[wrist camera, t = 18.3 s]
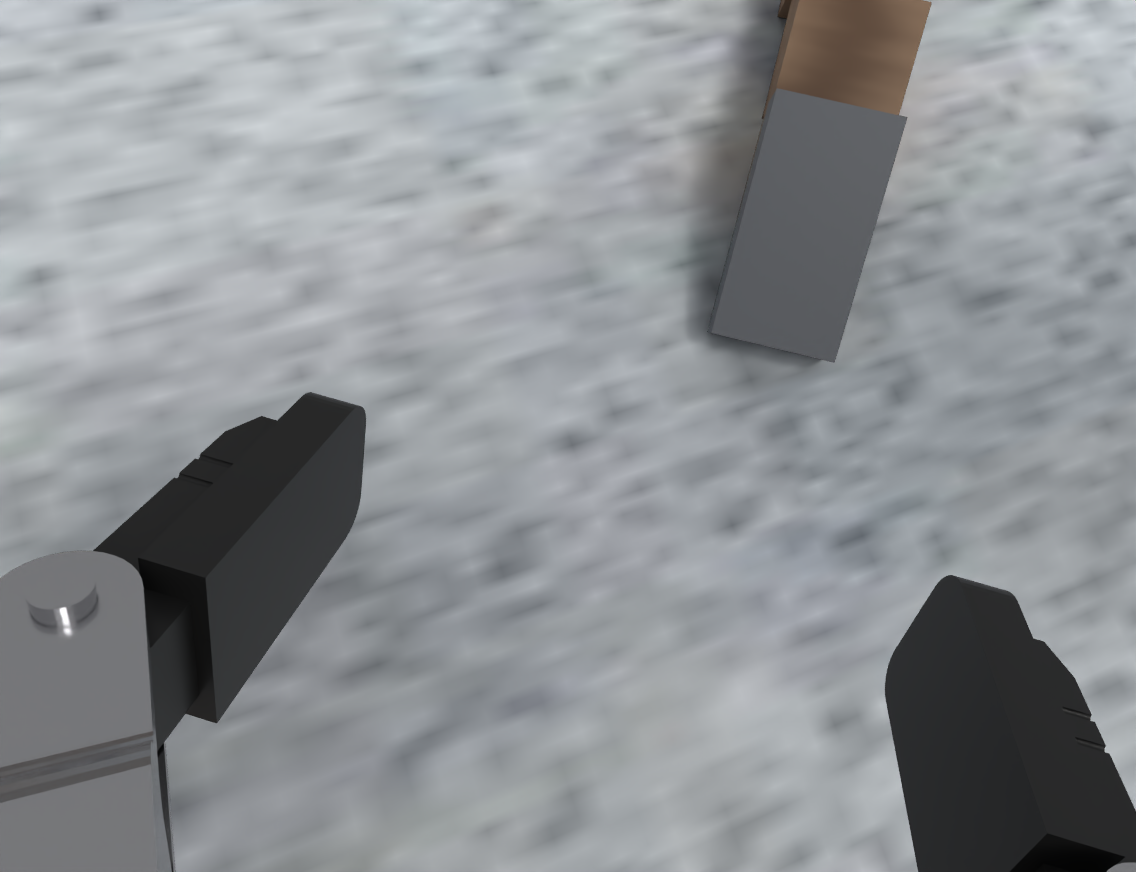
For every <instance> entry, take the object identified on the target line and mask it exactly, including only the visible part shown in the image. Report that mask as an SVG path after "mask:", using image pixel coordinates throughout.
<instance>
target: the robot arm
mask: <svg viewBox="0 0 1136 872" xmlns="http://www.w3.org/2000/svg"><path fill="white" fill-rule="evenodd" d="M365 428H366V414H365V410H364V408H363V407H361V406H358V405H354V404H350V403H347V402H343V401H340V400H336V399H333V398H329V397H326V396H322V395H319V394H315V393H312V392H309V393H306V394H305V395H303V396H302V397H301V398H300V399H299V400H298V401H297V402H296V403H295V404H294V405H293V406H292V407H291V408H290V409H289V410H288V411H287V412H286V413H285V414H284V415H283V416H282V417H281V418H280V419H279V420H278V421H277V420H273V419H270V418H266V417H263V416H261V417H258V418H256V419H254V420H251V421H249V422H247V423H244V424H242V425H240V426H237V427H235V428H232V429H230V430H228V431H225V432H224V433H223V434H222V435H221V436H220V437H219V438H218V439H217V440H215V441H214V442H213V443H212V444H211V445H210V446H209V447H208V448H207V449H205V450H204V451H203V452H202V453H201V454H200V458H199V459H194V460H193V461H192V462H191V463H190V464H189V465H188V466H187V467H185V468H184V469H183V470H182V471H181V472H180V473H179V477H178V478H173V479H172V480H171V481H170V482H169V483H168V484H167V485H166V486H164V487H163V488H162V489H161V490H160V491H159V492H158V493H157V494H156V495H154V496H153V497H152V498H151V499H150V500H149V501H148V502H147V503H146V504H144V505H143V506H142V507H141V508H140V509H139V510H138V511H137V512H136V513H134V514H133V515H132V516H131V517H130V518H129V519H128V520H127V521H126V522H124V523H123V524H122V525H121V526H120V527H119V528H118V529H117V530H116V531H115V532H113V533H112V534H111V535H110V536H109V537H108V538H107V539H106V540H105V541H103V542H102V543H101V544H100V545H99V546H98V547H97V548H96V549H94V550H93V551H70V552H62V553H57V554H51V555H48V556H44V557H41V558H38V559H35V560H33V561H30V562H28V563H25V564H23V565H21V566H19V567H17V568H15V569H13V570H12V571H10V572H9V573H7V574H6V575H4V576H3V577H1V578H0V872H176V870H175V857H174V844H173V831H172V818H171V805H170V793H169V780H168V767H167V754H166V744H165V740H166V739H167V738H168V736H169V735H170V734H171V732H172V731H173V730H174V728H175V727H176V726H177V724H178V723H179V721H180V720H181V719H182V717H183V716H184V715H185V714H189V715H192V716H195V717H198V718H201V719H205V720H208V721H211V722H214V723H218V721H219V720H220V718H221V717H222V715H223V714H224V712H225V711H226V710H227V708H228V707H229V705H230V704H231V702H232V701H233V700H234V698H235V697H236V695H237V694H238V692H239V691H240V689H241V688H242V687H243V685H244V684H245V682H246V681H247V679H248V678H249V677H250V675H251V674H252V672H253V671H254V669H255V668H256V666H257V665H258V664H259V662H260V661H261V659H262V658H263V656H264V655H265V654H266V652H267V651H268V649H269V648H270V646H271V645H272V643H273V642H274V641H275V639H276V638H277V636H278V635H279V633H280V632H281V630H282V629H283V628H284V626H285V625H286V623H287V622H288V620H289V619H290V618H291V616H292V615H293V613H294V612H295V610H296V609H297V607H298V606H299V605H300V603H301V602H302V600H303V599H304V597H305V596H306V595H307V593H308V592H309V590H310V589H311V587H312V586H313V584H314V583H315V582H316V580H317V579H318V577H319V576H320V574H321V573H322V572H323V570H324V569H325V567H326V566H327V564H328V563H329V561H330V560H331V559H332V557H333V556H334V554H335V553H336V551H337V550H338V549H339V547H340V546H341V544H342V543H343V541H344V540H345V538H346V537H347V535H348V533H349V531H350V529H351V527H352V525H353V523H354V520H355V517H356V514H357V511H358V508H359V503H360V498H361V487H362V472H363V458H364V443H365ZM885 697H886V703H887V708H888V714H889V719H890V724H891V730H892V735H893V740H894V746H895V751H896V756H897V761H898V767H899V772H900V777H901V783H902V788H903V793H904V799H905V804H906V809H907V814H908V820H909V825H910V830H911V836H912V841H913V846H914V852H915V857H916V862H917V867H918V872H1136V811H1135V809H1134V806H1133V804H1132V802H1131V800H1130V798H1129V795H1128V793H1127V791H1126V789H1125V787H1124V785H1123V782H1122V780H1121V778H1120V776H1119V774H1118V771H1117V769H1116V767H1115V765H1114V763H1113V761H1112V758H1111V756H1110V754H1108V753H1105V751H1104V748H1105V746H1106V745H1105V743H1104V741H1103V739H1102V737H1101V734H1100V732H1099V730H1098V728H1097V726H1096V723H1095V722H1092V721H1090V717H1091V713H1090V710H1089V708H1088V706H1087V704H1086V702H1085V699H1084V697H1083V695H1082V693H1081V691H1080V688H1079V686H1078V684H1077V682H1076V680H1075V678H1074V677H1073V675H1072V674H1071V673H1070V672H1069V671H1068V669H1067V668H1066V667H1065V666H1064V665H1063V664H1062V662H1061V661H1060V660H1059V659H1058V658H1057V657H1056V655H1055V654H1054V653H1053V652H1052V651H1051V649H1050V648H1049V647H1048V646H1047V645H1046V644H1045V642H1043V641H1040V640H1036V639H1033V637H1032V634H1031V632H1030V630H1029V627H1028V625H1027V623H1026V620H1025V618H1024V616H1023V613H1022V611H1021V608H1020V606H1019V604H1018V601H1017V600H1016V598H1015V596H1014V595H1013V594H1012V593H1010V592H1009V591H1006V590H1002V589H999V588H995V587H991V586H988V585H984V584H981V583H977V582H974V581H970V580H967V579H963V578H960V577H956V576H953V575H948V576H946V577H944V578H943V579H941V580H940V581H939V582H938V584H937V585H936V586H935V588H934V589H933V591H932V593H931V594H930V596H929V597H928V599H927V600H926V602H925V604H924V605H923V607H922V608H921V610H920V611H919V613H918V615H917V616H916V618H915V619H914V621H913V622H912V624H911V626H910V627H909V629H908V630H907V632H906V633H905V635H904V636H903V638H902V640H901V641H900V643H899V644H898V646H897V647H896V649H895V651H894V653H893V655H892V657H891V659H890V662H889V665H888V669H887V674H886V681H885Z"/></svg>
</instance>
